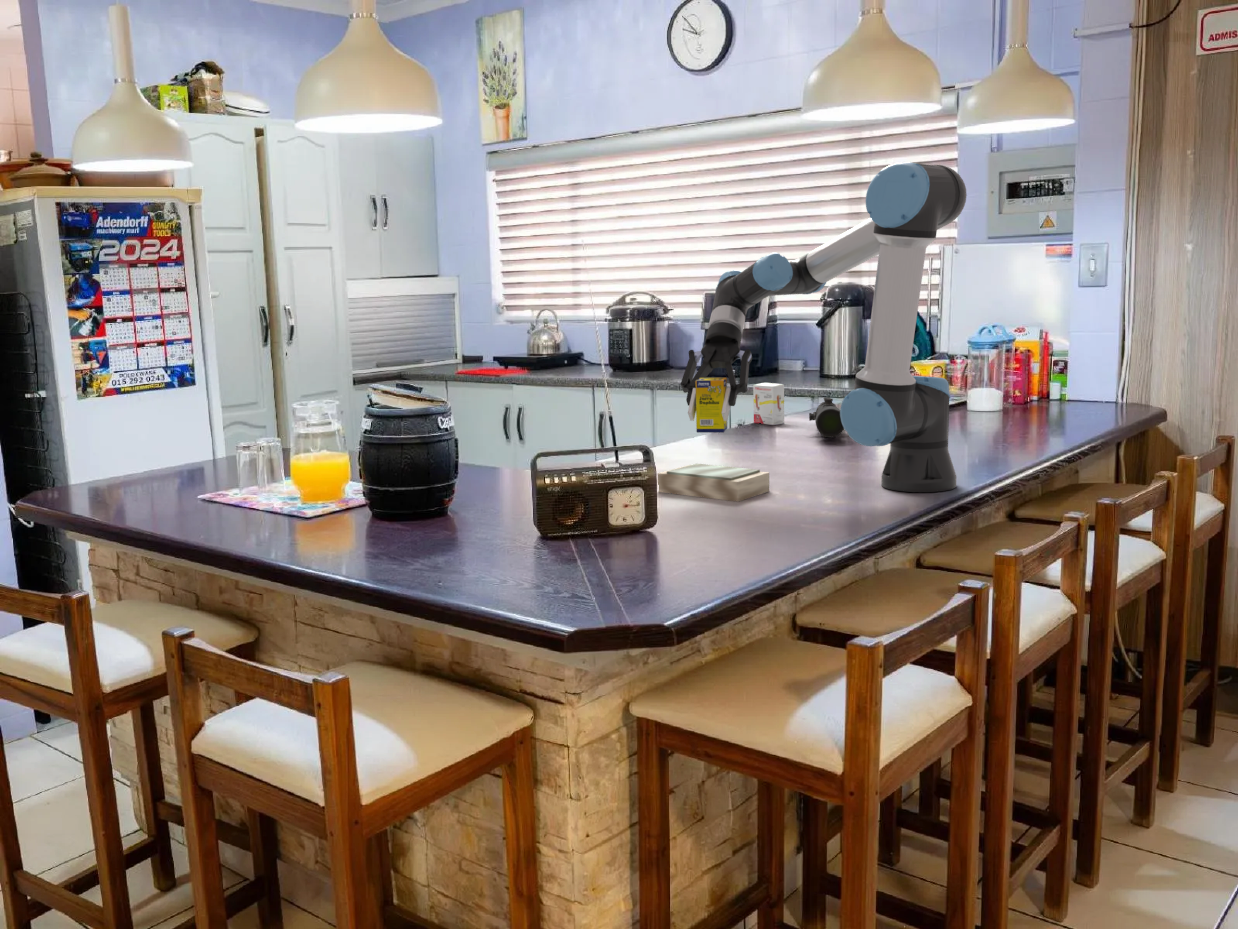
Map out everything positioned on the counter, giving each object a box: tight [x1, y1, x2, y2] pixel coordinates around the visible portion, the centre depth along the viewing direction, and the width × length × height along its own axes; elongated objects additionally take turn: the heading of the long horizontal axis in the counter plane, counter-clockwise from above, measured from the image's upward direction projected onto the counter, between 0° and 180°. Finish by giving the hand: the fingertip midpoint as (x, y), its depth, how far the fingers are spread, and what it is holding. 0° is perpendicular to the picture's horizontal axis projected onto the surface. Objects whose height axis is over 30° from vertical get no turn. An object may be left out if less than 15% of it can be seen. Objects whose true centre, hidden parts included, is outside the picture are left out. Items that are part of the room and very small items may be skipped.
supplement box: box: [695, 377, 729, 434], centre depth 232 cm, size 6×6×11 cm
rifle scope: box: [808, 396, 845, 439], centre depth 307 cm, size 10×26×10 cm, turn 172°
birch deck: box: [657, 463, 770, 502], centre depth 234 cm, size 20×12×4 cm, turn 51°
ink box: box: [752, 382, 785, 426], centre depth 334 cm, size 9×5×12 cm, turn 39°
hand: (707, 416), depth 229 cm, fingers closed on supplement box, 6 cm apart
